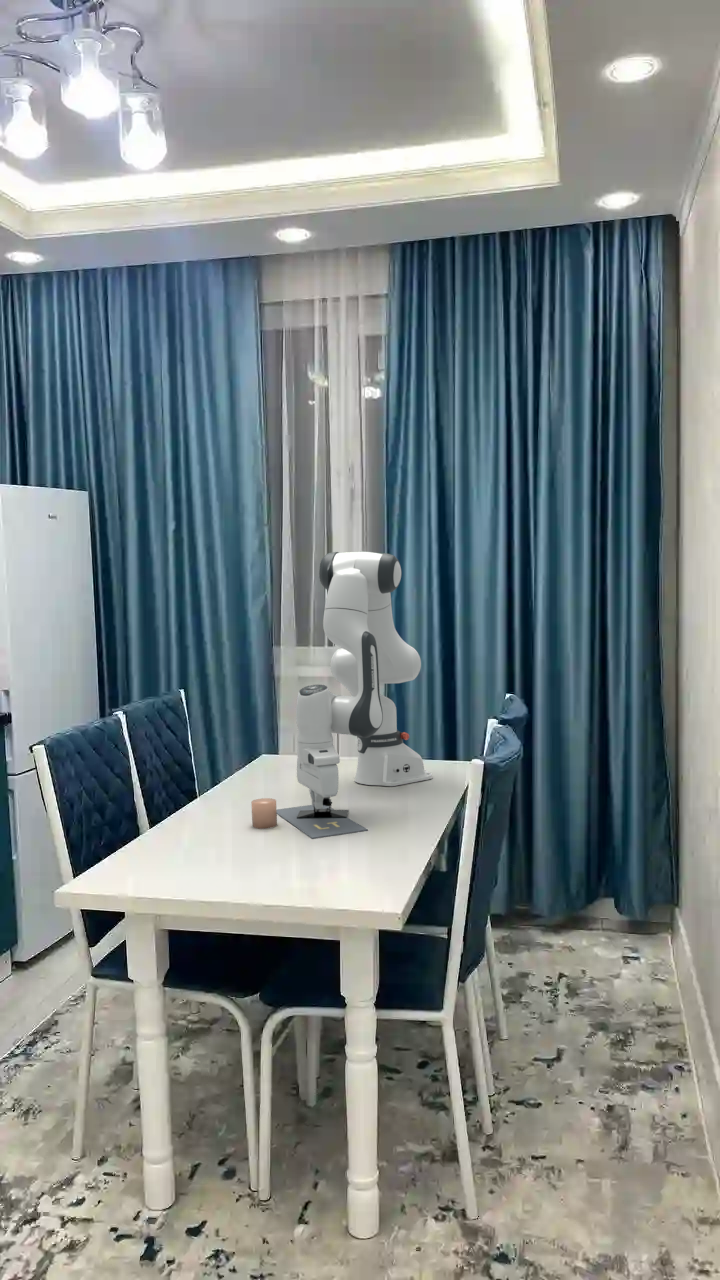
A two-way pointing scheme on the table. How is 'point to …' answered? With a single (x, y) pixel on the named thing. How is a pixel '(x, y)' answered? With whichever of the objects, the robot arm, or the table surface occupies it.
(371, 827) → the table surface
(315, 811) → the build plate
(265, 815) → the peach rounded cylinder
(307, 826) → the mat
